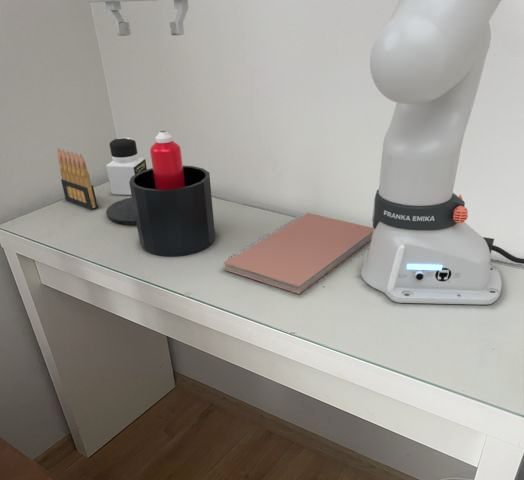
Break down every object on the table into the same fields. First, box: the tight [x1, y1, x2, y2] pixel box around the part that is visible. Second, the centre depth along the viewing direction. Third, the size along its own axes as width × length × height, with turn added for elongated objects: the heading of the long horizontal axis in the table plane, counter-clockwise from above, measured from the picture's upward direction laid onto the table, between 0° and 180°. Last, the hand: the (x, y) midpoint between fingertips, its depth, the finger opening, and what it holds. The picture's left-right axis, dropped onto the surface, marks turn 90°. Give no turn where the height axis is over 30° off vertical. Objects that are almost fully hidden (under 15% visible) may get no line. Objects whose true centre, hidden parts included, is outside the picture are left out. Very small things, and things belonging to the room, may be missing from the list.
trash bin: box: [129, 165, 216, 257], centre depth 101 cm, size 15×15×12 cm
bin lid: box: [105, 196, 137, 225], centre depth 116 cm, size 16×16×5 cm
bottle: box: [149, 130, 185, 189], centre depth 99 cm, size 5×6×20 cm
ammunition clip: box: [56, 147, 99, 211], centre depth 120 cm, size 11×2×12 cm, turn 49°
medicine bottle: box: [105, 137, 148, 196], centre depth 127 cm, size 7×7×12 cm
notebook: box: [223, 212, 374, 295], centre depth 98 cm, size 27×17×2 cm, turn 143°
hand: (150, 35), depth 84 cm, fingers open, 8 cm apart
